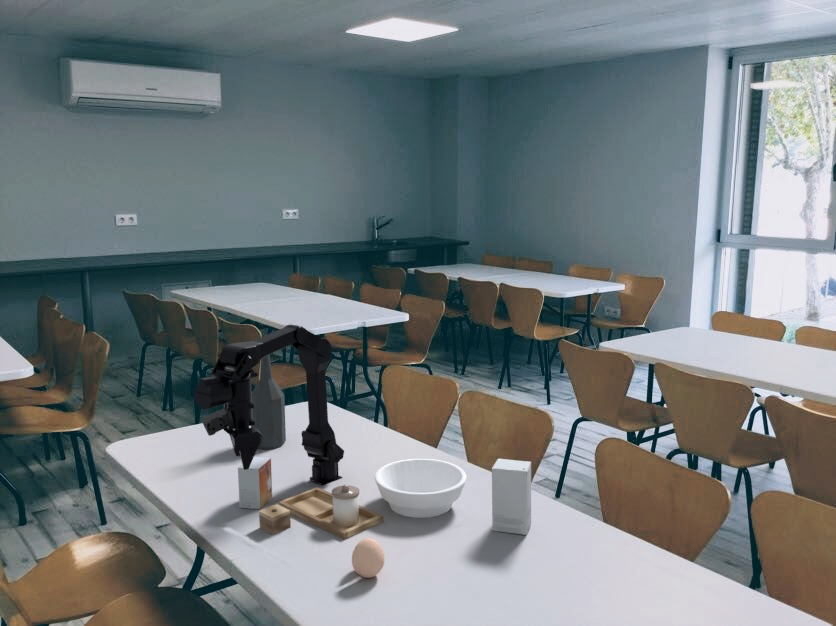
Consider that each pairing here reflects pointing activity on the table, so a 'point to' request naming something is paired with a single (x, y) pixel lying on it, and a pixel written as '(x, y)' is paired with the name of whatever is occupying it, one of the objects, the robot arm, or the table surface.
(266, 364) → the bottle
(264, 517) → the beige box
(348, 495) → the sugar jar
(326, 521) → the caddy
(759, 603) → the table surface
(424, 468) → the bowl
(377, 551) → the egg
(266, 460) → the small box
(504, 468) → the skincare box
